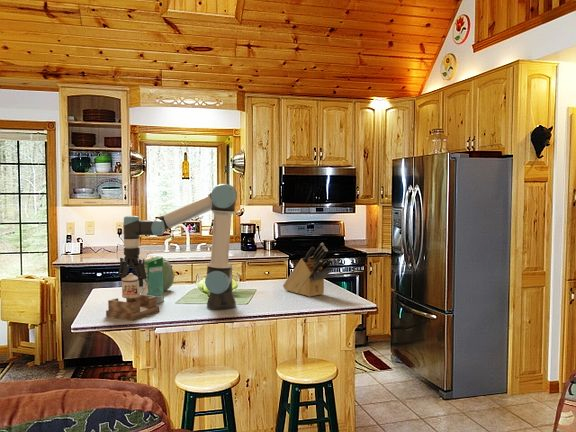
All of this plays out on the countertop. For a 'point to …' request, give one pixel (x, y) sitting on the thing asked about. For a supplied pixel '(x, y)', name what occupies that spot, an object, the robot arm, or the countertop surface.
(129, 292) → the teacup with lid
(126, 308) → the walnut cup stand
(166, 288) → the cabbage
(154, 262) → the milk carton
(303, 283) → the knife block
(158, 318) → the countertop surface
